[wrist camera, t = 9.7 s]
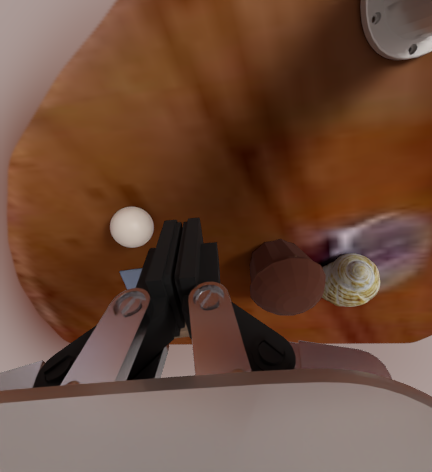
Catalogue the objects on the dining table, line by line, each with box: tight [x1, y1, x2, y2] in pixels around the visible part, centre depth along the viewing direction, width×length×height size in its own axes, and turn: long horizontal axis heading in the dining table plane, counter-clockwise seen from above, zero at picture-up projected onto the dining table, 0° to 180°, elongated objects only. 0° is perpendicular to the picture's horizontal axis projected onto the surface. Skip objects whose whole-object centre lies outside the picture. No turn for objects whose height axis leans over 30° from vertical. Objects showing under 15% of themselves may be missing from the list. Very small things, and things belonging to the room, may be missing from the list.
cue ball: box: [110, 207, 154, 248], centre depth 30 cm, size 6×6×6 cm
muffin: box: [250, 239, 326, 315], centre depth 34 cm, size 12×11×10 cm
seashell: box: [322, 253, 380, 307], centre depth 39 cm, size 10×10×10 cm
